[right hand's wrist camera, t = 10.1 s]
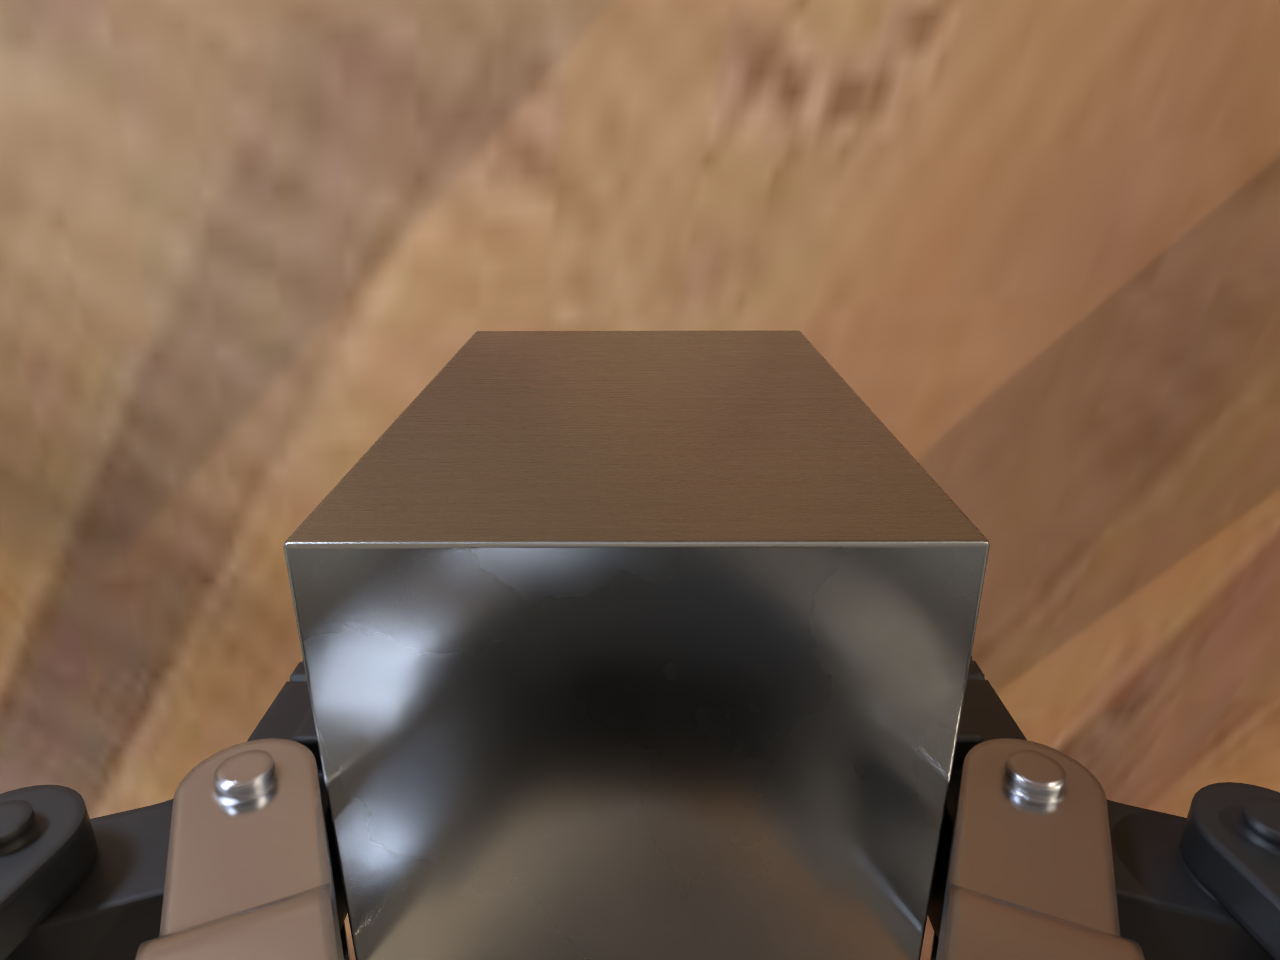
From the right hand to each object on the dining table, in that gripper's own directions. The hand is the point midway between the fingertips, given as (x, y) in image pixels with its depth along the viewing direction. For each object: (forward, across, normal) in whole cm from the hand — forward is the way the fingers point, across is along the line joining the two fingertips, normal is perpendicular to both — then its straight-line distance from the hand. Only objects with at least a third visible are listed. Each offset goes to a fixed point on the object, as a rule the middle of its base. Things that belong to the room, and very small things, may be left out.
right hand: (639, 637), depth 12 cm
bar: (+4, 0, -9) cm, 10 cm away
